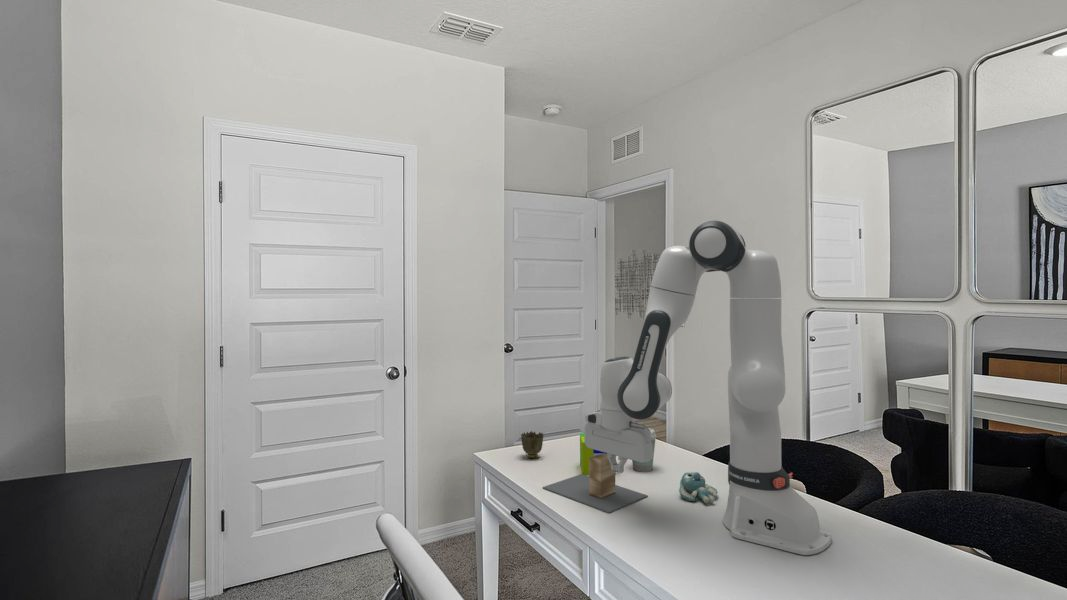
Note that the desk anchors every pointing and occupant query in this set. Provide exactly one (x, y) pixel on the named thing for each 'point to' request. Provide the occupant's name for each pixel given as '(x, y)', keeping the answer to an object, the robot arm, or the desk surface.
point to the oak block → (601, 477)
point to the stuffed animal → (696, 488)
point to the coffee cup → (648, 465)
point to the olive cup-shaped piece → (532, 444)
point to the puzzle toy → (587, 455)
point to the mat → (579, 492)
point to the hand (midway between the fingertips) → (617, 471)
